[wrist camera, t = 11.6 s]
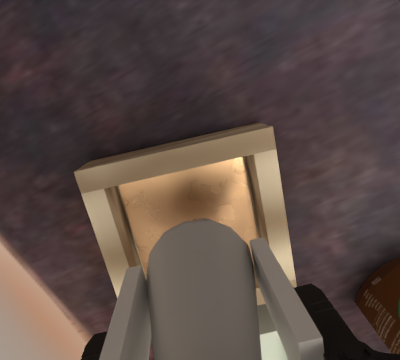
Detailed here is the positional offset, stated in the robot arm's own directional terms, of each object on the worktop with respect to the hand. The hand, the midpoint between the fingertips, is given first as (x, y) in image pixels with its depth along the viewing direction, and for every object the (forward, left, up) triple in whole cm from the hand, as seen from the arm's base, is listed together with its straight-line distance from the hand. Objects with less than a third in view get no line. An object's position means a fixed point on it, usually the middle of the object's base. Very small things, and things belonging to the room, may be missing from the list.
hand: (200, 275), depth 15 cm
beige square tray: (0, 0, -9) cm, 9 cm away
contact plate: (0, 0, -9) cm, 9 cm away
